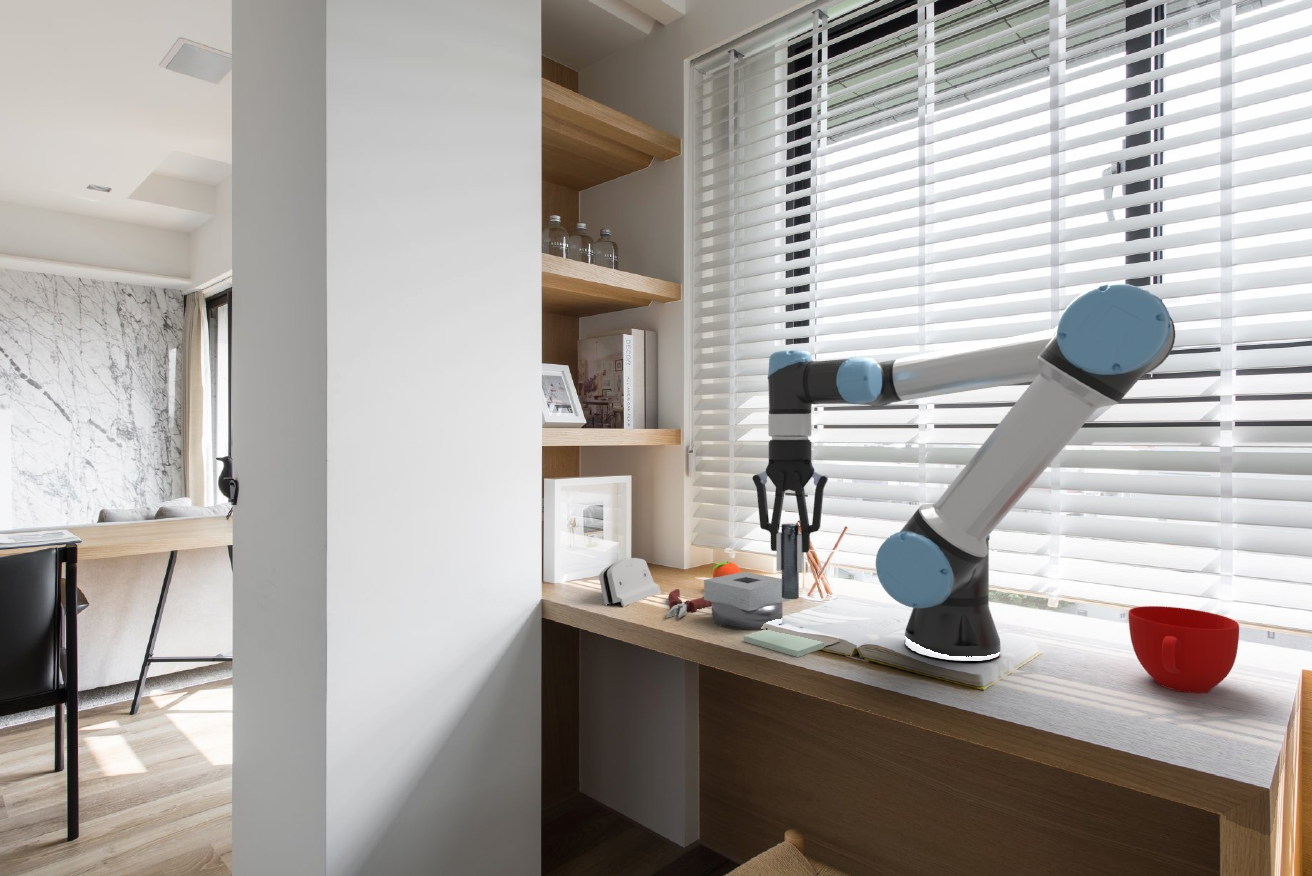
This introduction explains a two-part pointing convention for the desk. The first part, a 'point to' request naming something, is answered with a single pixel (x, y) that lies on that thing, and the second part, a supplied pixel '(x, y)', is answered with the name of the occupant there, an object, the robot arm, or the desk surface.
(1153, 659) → the ceramic cup
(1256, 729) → the desk surface
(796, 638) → the sage mat
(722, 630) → the desk surface
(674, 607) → the pliers
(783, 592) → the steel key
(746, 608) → the chuck block
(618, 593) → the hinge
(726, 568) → the clementine
